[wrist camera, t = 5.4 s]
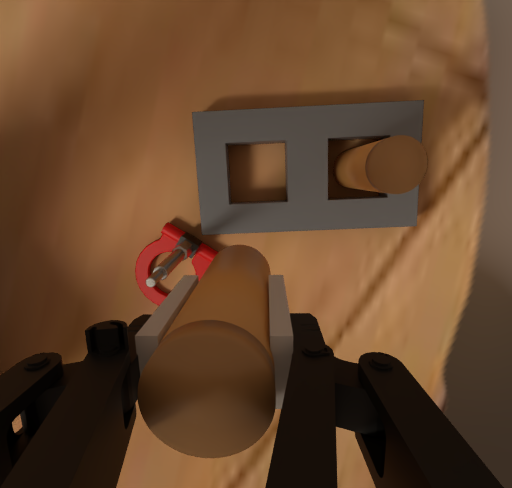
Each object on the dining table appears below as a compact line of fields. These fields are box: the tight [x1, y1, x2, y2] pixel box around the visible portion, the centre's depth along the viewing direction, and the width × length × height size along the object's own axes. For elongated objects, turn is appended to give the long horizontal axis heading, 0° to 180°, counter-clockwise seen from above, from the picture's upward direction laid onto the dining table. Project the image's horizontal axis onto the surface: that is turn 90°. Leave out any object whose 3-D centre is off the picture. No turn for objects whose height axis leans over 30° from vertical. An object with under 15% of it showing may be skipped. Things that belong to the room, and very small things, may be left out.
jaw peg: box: [137, 245, 276, 458], centre depth 15 cm, size 4×4×12 cm
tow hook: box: [135, 222, 219, 306], centre depth 31 cm, size 8×13×9 cm
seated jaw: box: [333, 135, 428, 194], centre depth 28 cm, size 4×4×12 cm
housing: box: [192, 100, 424, 235], centre depth 33 cm, size 22×12×2 cm, turn 93°
